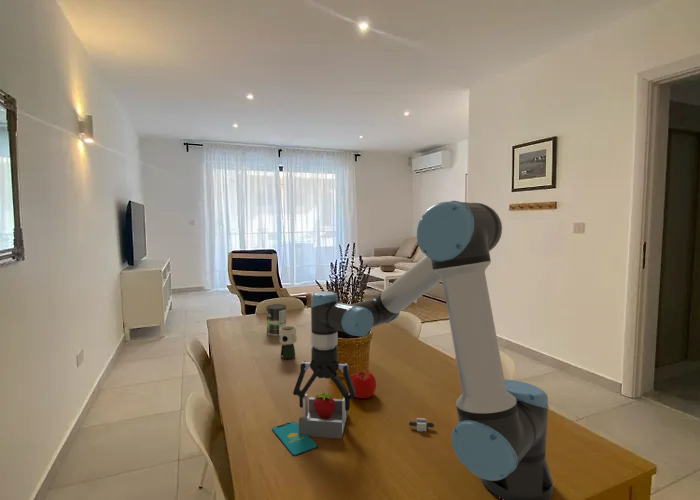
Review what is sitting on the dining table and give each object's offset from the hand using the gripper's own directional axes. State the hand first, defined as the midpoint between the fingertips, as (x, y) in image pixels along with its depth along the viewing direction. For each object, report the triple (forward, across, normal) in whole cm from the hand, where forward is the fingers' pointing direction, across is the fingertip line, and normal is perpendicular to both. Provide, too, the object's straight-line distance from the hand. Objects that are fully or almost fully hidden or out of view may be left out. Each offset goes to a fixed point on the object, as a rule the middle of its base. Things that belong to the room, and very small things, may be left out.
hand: (324, 419), depth 113 cm
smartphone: (+2, +7, +8) cm, 11 cm away
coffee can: (+2, +42, -85) cm, 95 cm away
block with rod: (+2, -28, -2) cm, 28 cm away
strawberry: (+1, 0, 0) cm, 1 cm away
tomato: (+2, -9, -20) cm, 22 cm away
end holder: (+2, 0, 0) cm, 2 cm away
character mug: (+2, +26, -51) cm, 57 cm away
